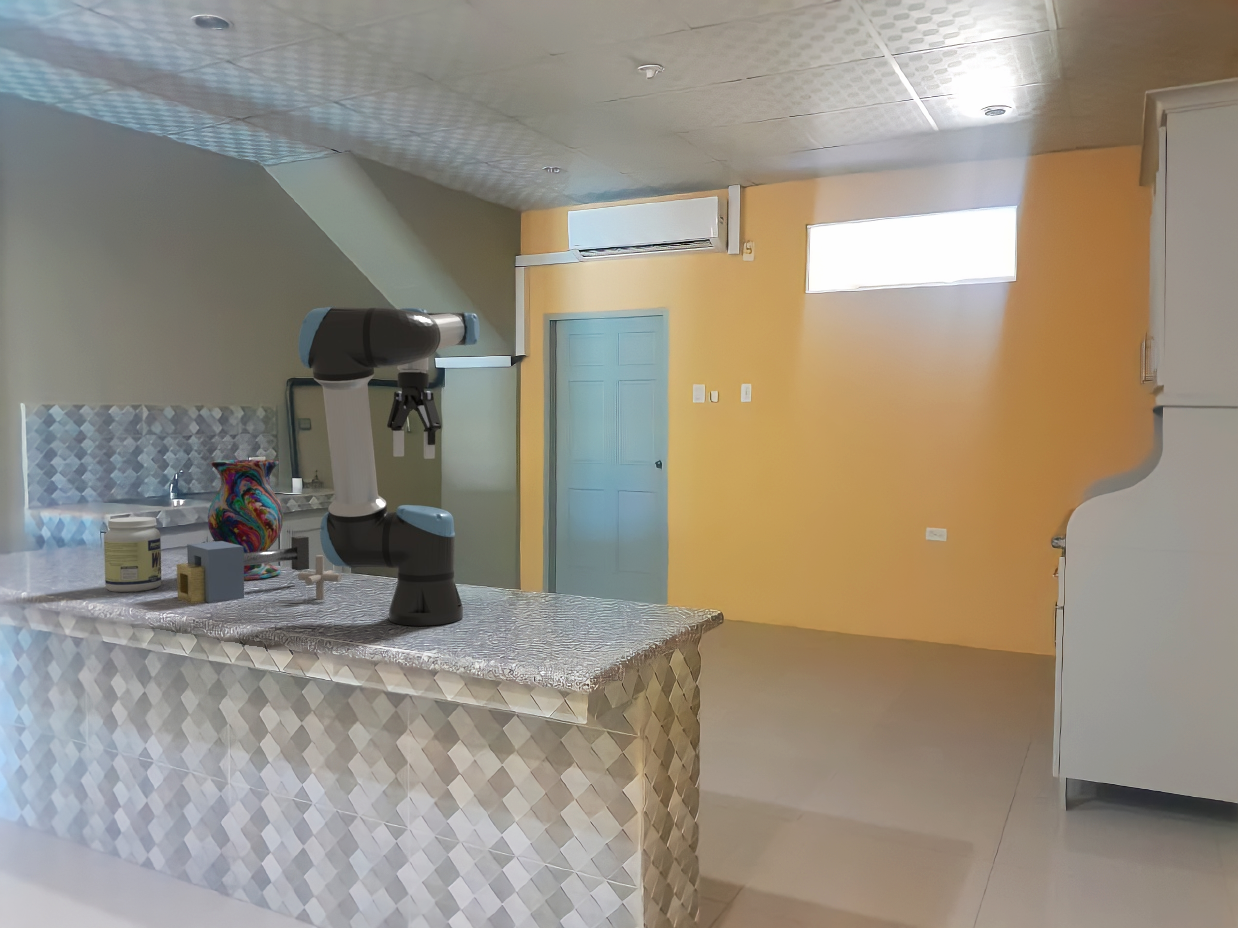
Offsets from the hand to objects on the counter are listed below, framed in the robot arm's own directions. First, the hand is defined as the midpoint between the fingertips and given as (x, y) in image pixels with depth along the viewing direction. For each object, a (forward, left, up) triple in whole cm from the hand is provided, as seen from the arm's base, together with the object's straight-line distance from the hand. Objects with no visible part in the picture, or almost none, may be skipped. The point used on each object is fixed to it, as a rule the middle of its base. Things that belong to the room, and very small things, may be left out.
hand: (413, 457), depth 232 cm
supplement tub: (+42, +52, -32) cm, 74 cm away
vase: (+40, +25, -32) cm, 57 cm away
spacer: (+18, +48, -28) cm, 58 cm away
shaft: (+18, +31, -28) cm, 45 cm away
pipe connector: (-1, +26, -32) cm, 41 cm away
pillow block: (+18, +42, -32) cm, 56 cm away
